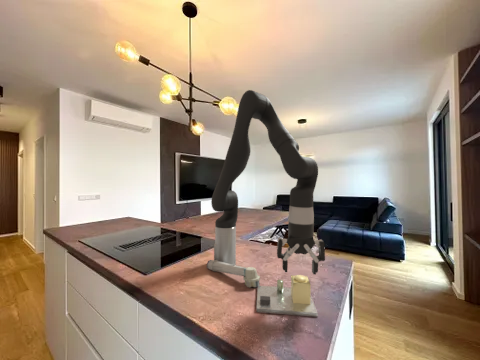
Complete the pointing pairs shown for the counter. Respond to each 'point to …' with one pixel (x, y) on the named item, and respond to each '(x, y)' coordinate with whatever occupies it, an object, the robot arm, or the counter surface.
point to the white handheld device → (236, 271)
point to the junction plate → (282, 301)
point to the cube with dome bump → (300, 289)
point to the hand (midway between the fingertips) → (299, 272)
